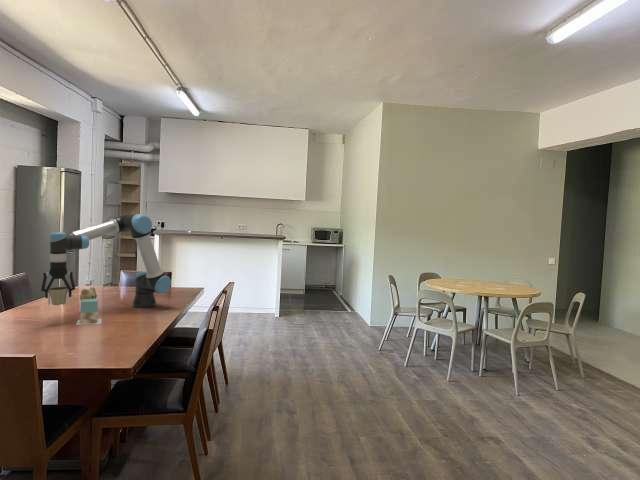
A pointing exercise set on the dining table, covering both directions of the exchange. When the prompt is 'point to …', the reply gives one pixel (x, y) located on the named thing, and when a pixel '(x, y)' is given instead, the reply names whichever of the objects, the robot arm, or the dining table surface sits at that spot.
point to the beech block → (89, 317)
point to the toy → (88, 294)
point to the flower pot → (58, 295)
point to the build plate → (89, 323)
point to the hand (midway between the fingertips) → (58, 303)
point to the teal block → (89, 305)
